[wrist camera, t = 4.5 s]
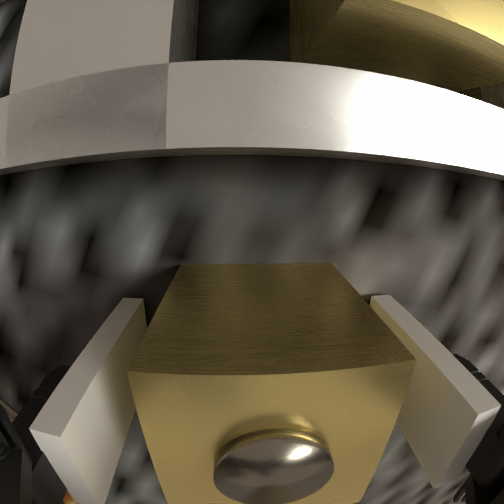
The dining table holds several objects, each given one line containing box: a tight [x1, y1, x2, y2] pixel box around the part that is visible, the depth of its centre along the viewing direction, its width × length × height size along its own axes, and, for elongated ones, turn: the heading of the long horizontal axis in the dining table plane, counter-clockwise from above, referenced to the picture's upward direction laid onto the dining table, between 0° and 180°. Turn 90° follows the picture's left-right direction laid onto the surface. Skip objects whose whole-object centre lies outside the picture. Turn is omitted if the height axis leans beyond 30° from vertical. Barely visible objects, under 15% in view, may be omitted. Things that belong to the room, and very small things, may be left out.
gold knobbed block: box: [127, 263, 416, 504], centre depth 8 cm, size 5×5×6 cm
